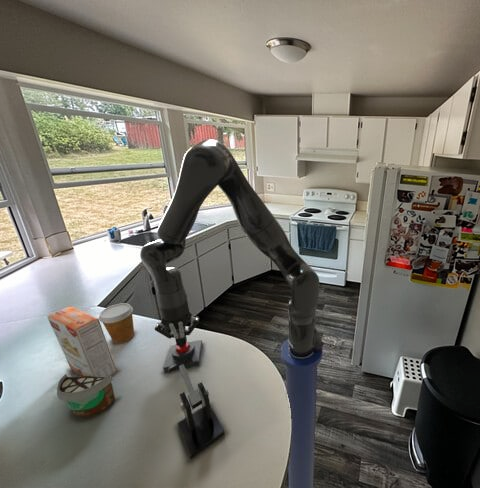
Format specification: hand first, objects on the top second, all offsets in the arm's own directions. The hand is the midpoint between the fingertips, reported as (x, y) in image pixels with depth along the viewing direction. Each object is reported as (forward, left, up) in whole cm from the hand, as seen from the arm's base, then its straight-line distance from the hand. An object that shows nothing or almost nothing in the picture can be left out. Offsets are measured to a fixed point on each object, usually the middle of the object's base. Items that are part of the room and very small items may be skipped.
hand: (182, 345), depth 83 cm
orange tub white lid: (+23, -17, -6) cm, 29 cm away
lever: (-6, +23, +6) cm, 24 cm away
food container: (+21, +13, -6) cm, 25 cm away
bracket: (-8, +27, -5) cm, 29 cm away
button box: (0, 0, -5) cm, 5 cm away
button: (0, 0, -2) cm, 2 cm away
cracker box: (+26, -2, -6) cm, 27 cm away
